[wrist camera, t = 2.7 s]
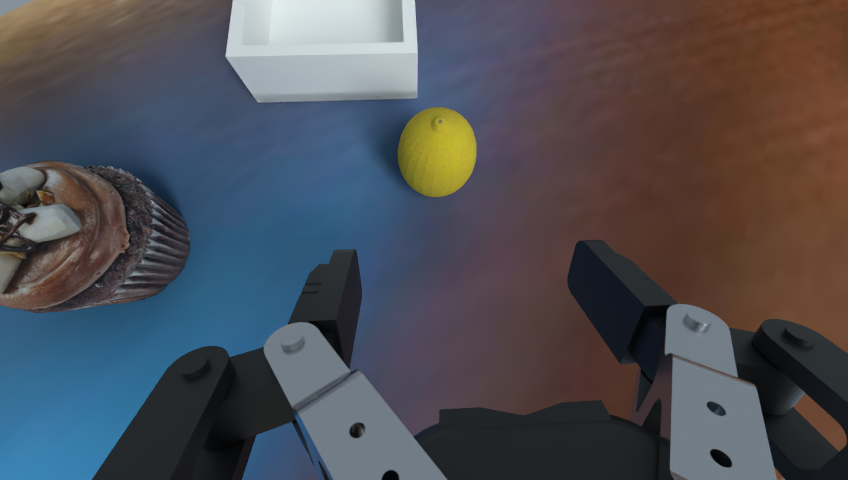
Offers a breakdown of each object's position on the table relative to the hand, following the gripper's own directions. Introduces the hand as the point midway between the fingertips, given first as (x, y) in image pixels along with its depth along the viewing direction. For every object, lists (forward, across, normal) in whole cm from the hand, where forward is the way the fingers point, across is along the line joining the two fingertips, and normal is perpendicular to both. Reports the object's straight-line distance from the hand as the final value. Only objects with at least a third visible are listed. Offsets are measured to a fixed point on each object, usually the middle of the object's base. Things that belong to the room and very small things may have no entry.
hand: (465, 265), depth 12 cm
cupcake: (+13, +23, +6) cm, 27 cm away
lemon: (+16, 0, +3) cm, 16 cm away
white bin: (+27, +8, -8) cm, 29 cm away
